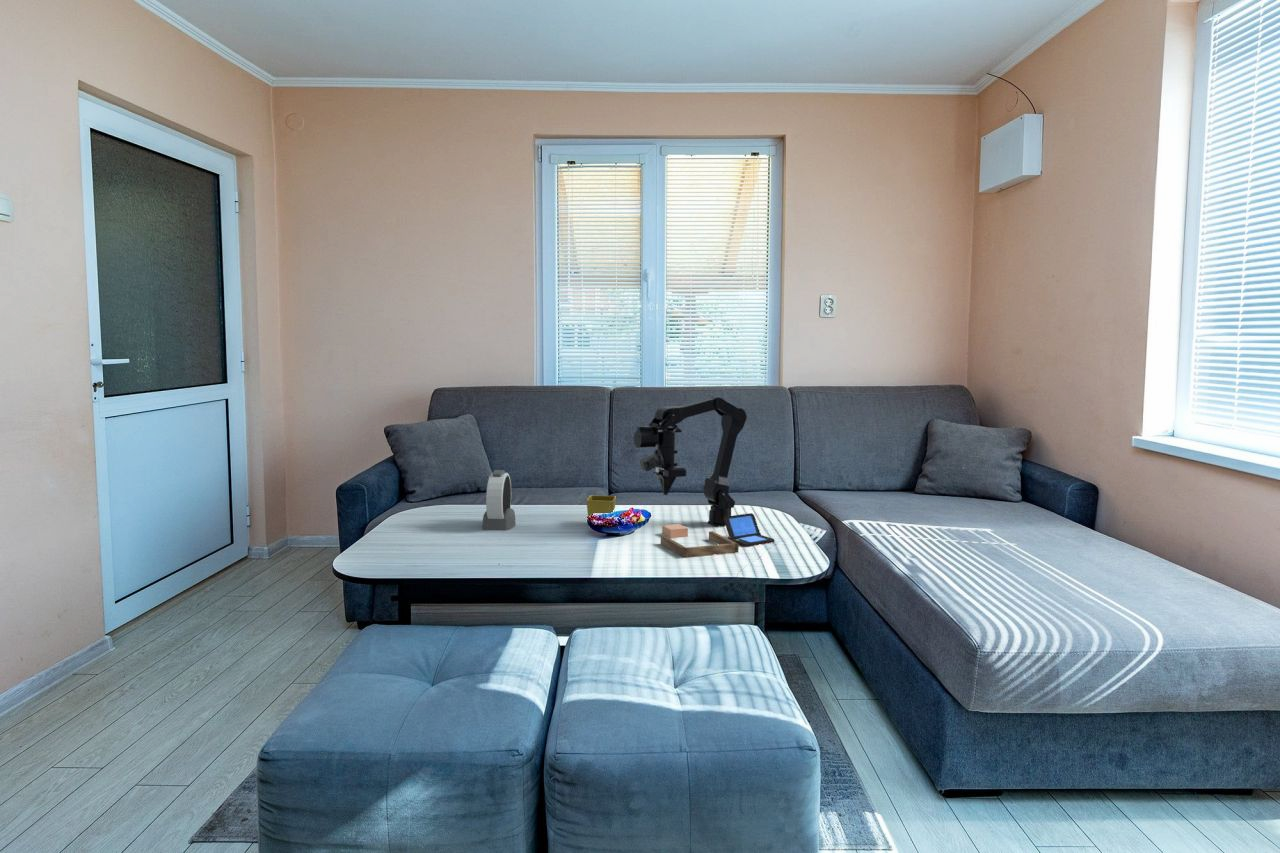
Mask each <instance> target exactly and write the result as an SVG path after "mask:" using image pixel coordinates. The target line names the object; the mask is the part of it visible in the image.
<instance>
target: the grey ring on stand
mask: <svg viewBox="0 0 1280 853" xmlns="http://www.w3.org/2000/svg"><path fill="white" fill-rule="evenodd" d="M486 485H487V486H486V494H485V495H486V496H485V498H486V499H485V506H486V507H485V508H486V511H485V512H484V513H483V516H482V530H484V531H509V530H512V529H513V528H514V527H516V514H515V513H516V512H515V510H514V509H513V508H511V505H512V504H511V503H512V481H511V477H510V474H509V473H508V472H506V470H504V469H494V470H493V471H492V472H491V474H489V476H488V481H487V484H486Z"/></svg>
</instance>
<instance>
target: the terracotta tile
mask: <svg viewBox="0 0 1280 853" xmlns="http://www.w3.org/2000/svg"><path fill="white" fill-rule="evenodd" d="M661 528H662V530H661V531H662V532H661V533H662V536H663V535H665V536H666V537H668V538H670V539H677V538H678V539H679V538H688V537H689V528H688V527H686V526H684V525H682V524H680V523H676V524H674V523H673V524H665V525H662V526H661Z"/></svg>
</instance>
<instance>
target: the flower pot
mask: <svg viewBox="0 0 1280 853" xmlns="http://www.w3.org/2000/svg"><path fill="white" fill-rule="evenodd" d="M616 503H617V496H616V495H615V496H614V495H601V494H600V495H599V494H597V495H596V494H590V495H589V497H587V499H586V510H587V517H588V518H589V516H590V515H591V514H593V513H611V512H613V510H614V509H616ZM614 511H615V510H614Z"/></svg>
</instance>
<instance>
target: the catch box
mask: <svg viewBox="0 0 1280 853" xmlns="http://www.w3.org/2000/svg"><path fill="white" fill-rule="evenodd" d="M708 541H711V542H713V543H714V542H715V544H713V545H712V544H710V545H701V546H690V547H686V546H684V545H682V543H679V542H677V541H676V540H673V538H669V537H667V536H665V535H663V534H662V535H660V544H661V545H662V546H663V547H665V548H667V549H668V550H670V551H672V552H674V553H675V554H677V555H679V556H680V557H682V558H683V559H684V558H694V557H695V558H696V557H704V556H714V555H713V554H717V555H724V554H726V553H727V554H735V552H737V553H739V548H740V547H739V546H740V545H739V544H738V543H736V542H734V541H732V540H730V538H727V537H725V536H723V535H721V534H719V533H717V532H715V531H712V530H710V531H708ZM716 543H717V544H716ZM718 544H719V545H718ZM727 554H726V555H727Z"/></svg>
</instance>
